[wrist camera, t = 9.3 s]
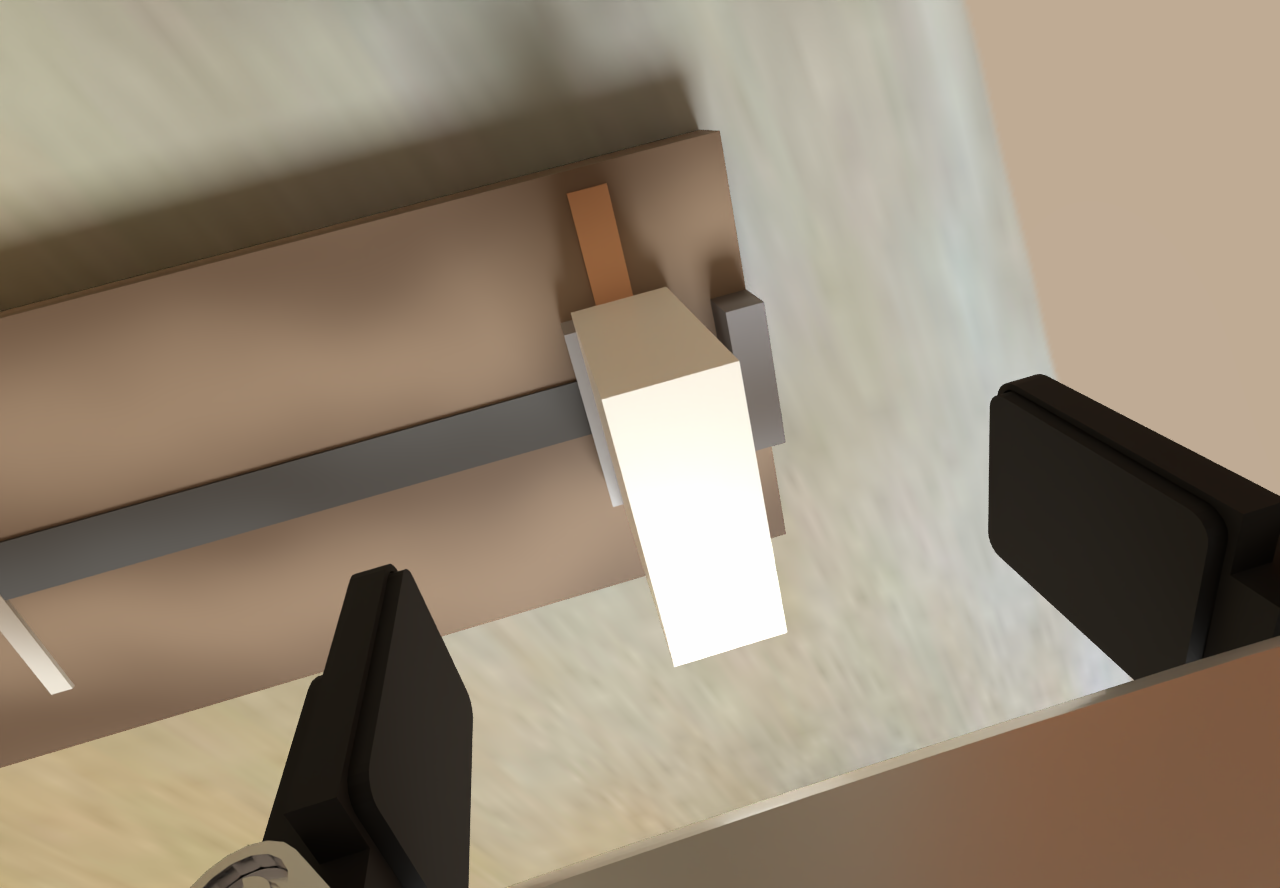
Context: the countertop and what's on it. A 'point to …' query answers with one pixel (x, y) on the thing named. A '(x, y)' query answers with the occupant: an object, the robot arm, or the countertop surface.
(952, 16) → the countertop surface
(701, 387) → the block
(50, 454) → the slider board
